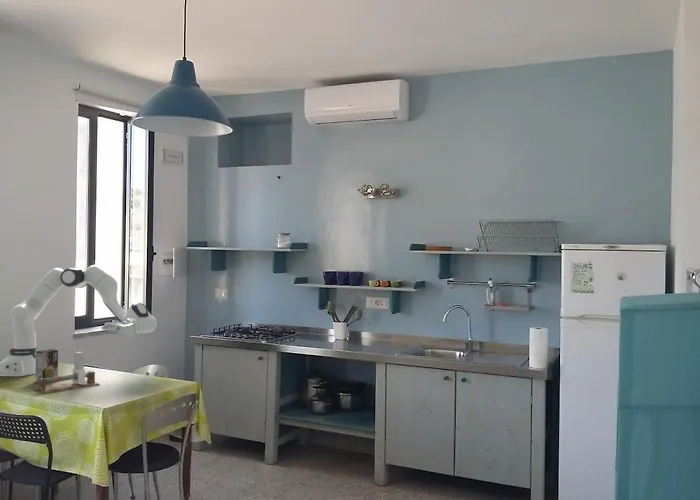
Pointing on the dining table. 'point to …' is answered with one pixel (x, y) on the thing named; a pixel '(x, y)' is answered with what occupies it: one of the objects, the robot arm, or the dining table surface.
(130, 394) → the dining table surface
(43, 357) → the coffee box
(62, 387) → the pipe stand
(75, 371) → the collar
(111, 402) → the dining table surface
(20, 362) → the robot arm
